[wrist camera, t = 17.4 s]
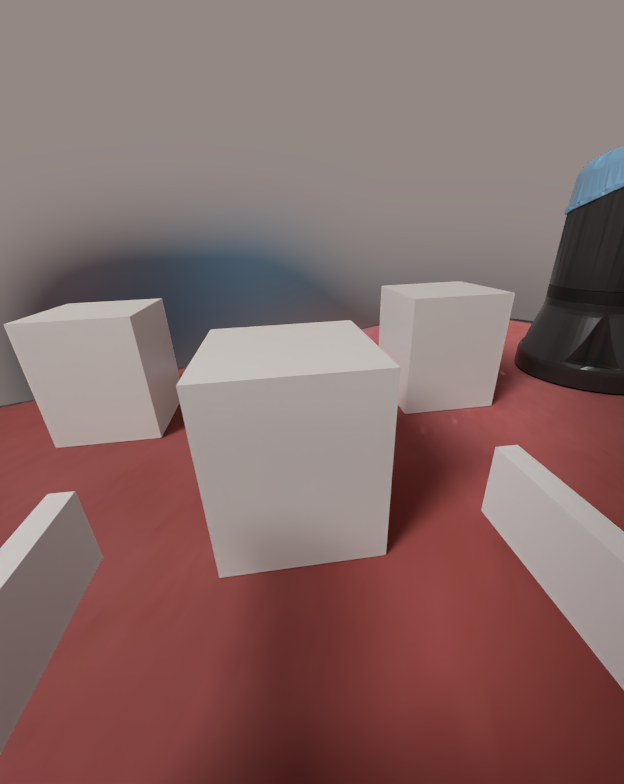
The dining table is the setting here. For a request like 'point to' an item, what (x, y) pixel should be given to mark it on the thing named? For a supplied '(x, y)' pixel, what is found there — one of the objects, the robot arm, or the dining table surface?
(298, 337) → the tall off-white cuboid
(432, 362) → the matte white cube
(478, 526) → the dining table surface
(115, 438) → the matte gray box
